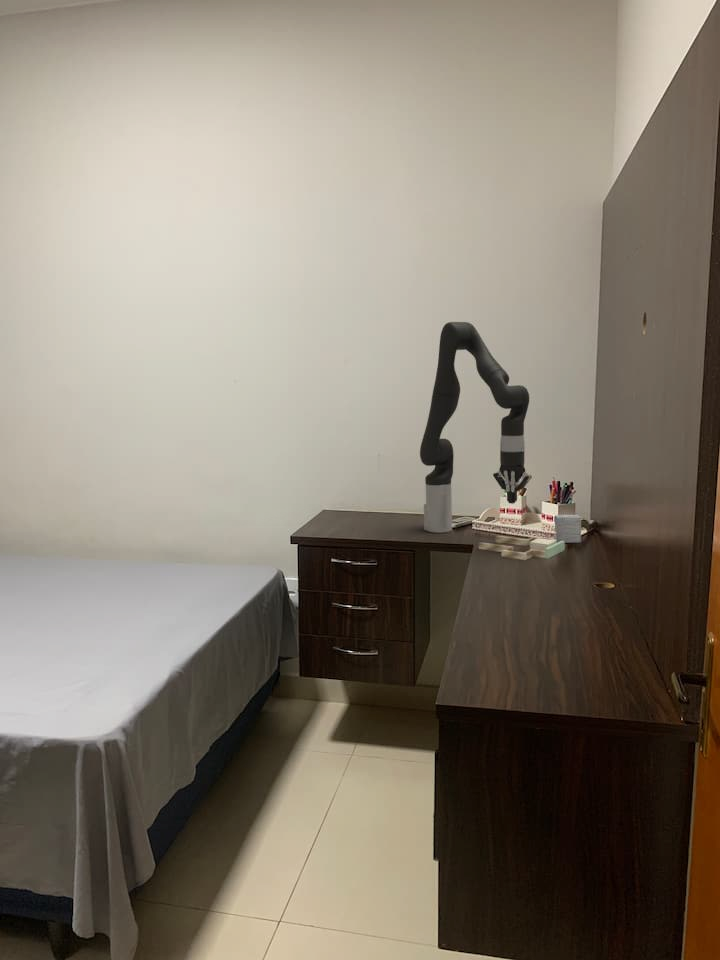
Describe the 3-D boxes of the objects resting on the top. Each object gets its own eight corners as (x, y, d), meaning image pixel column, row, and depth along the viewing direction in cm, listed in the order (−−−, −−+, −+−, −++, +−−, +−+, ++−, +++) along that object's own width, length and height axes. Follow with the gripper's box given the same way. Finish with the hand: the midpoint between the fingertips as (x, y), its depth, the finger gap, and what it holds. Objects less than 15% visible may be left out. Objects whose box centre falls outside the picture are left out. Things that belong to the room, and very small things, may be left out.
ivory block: (529, 554, 230) (529, 542, 230) (538, 550, 235) (538, 538, 234) (548, 557, 227) (548, 544, 226) (556, 552, 231) (556, 540, 231)
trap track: (470, 552, 235) (470, 543, 235) (504, 538, 252) (504, 529, 251) (540, 562, 220) (540, 552, 220) (571, 547, 237) (571, 537, 236)
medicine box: (578, 539, 246) (578, 514, 245) (581, 543, 242) (581, 517, 240) (554, 540, 247) (554, 514, 246) (556, 543, 242) (556, 517, 241)
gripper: (487, 449, 234) (487, 502, 237) (526, 451, 226) (525, 507, 229) (499, 446, 240) (499, 499, 243) (537, 449, 232) (536, 503, 234)
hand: (512, 503), depth 236 cm, fingers closed
